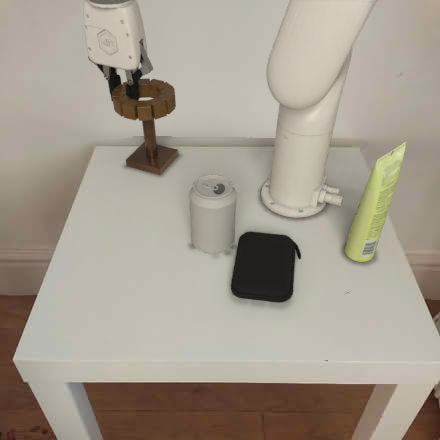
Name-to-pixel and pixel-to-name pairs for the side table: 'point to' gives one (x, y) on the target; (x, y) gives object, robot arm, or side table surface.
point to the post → (151, 152)
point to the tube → (374, 206)
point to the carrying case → (264, 267)
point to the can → (212, 213)
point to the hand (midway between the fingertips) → (125, 99)
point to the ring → (145, 108)
